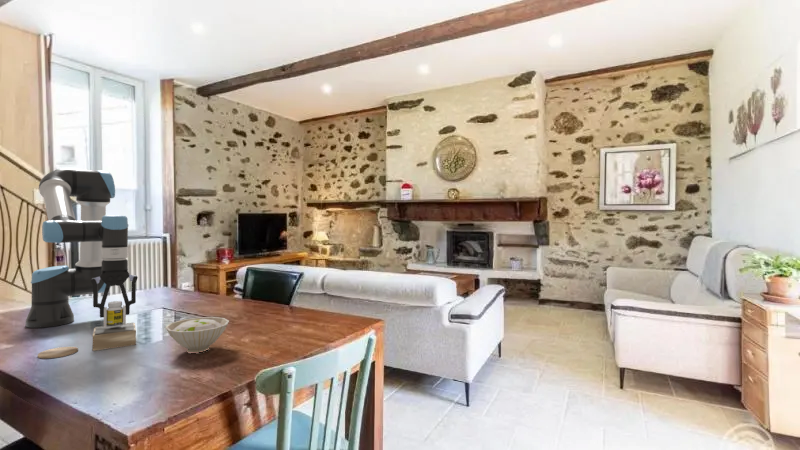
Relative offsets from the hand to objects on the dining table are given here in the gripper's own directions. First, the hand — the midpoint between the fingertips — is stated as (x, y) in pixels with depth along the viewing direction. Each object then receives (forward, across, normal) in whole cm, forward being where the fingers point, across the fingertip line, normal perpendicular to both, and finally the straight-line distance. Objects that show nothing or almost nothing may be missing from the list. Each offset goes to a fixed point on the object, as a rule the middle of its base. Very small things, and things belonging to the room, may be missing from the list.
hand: (114, 325), depth 141 cm
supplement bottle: (+1, 0, 0) cm, 1 cm away
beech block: (+6, 0, 0) cm, 6 cm away
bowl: (+7, +23, -24) cm, 34 cm away
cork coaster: (+6, -15, -3) cm, 17 cm away
